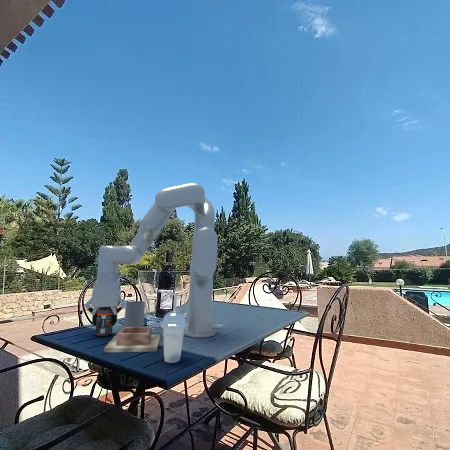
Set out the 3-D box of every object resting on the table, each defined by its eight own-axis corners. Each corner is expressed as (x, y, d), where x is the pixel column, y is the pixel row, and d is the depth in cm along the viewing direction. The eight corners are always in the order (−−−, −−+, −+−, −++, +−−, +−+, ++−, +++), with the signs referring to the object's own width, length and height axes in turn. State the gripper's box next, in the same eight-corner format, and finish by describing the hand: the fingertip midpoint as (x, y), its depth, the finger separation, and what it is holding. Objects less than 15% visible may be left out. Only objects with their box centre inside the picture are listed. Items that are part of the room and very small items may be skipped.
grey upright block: (132, 328, 117) (134, 304, 118) (119, 325, 121) (121, 302, 123) (147, 325, 124) (149, 302, 125) (135, 322, 128) (136, 300, 130)
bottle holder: (160, 337, 104) (161, 324, 105) (156, 351, 88) (157, 336, 89) (115, 338, 102) (116, 325, 102) (103, 352, 86) (104, 336, 87)
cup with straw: (176, 367, 76) (179, 292, 78) (149, 361, 79) (153, 290, 82) (192, 357, 83) (194, 289, 86) (167, 353, 87) (170, 288, 90)
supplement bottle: (105, 337, 102) (107, 305, 104) (91, 336, 103) (93, 304, 105) (115, 333, 108) (117, 303, 110) (101, 332, 109) (103, 302, 111)
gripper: (132, 276, 114) (129, 322, 111) (87, 276, 111) (83, 323, 109) (128, 278, 106) (125, 326, 104) (80, 277, 104) (76, 328, 101)
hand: (104, 324), depth 106 cm, fingers closed on supplement bottle, 5 cm apart
